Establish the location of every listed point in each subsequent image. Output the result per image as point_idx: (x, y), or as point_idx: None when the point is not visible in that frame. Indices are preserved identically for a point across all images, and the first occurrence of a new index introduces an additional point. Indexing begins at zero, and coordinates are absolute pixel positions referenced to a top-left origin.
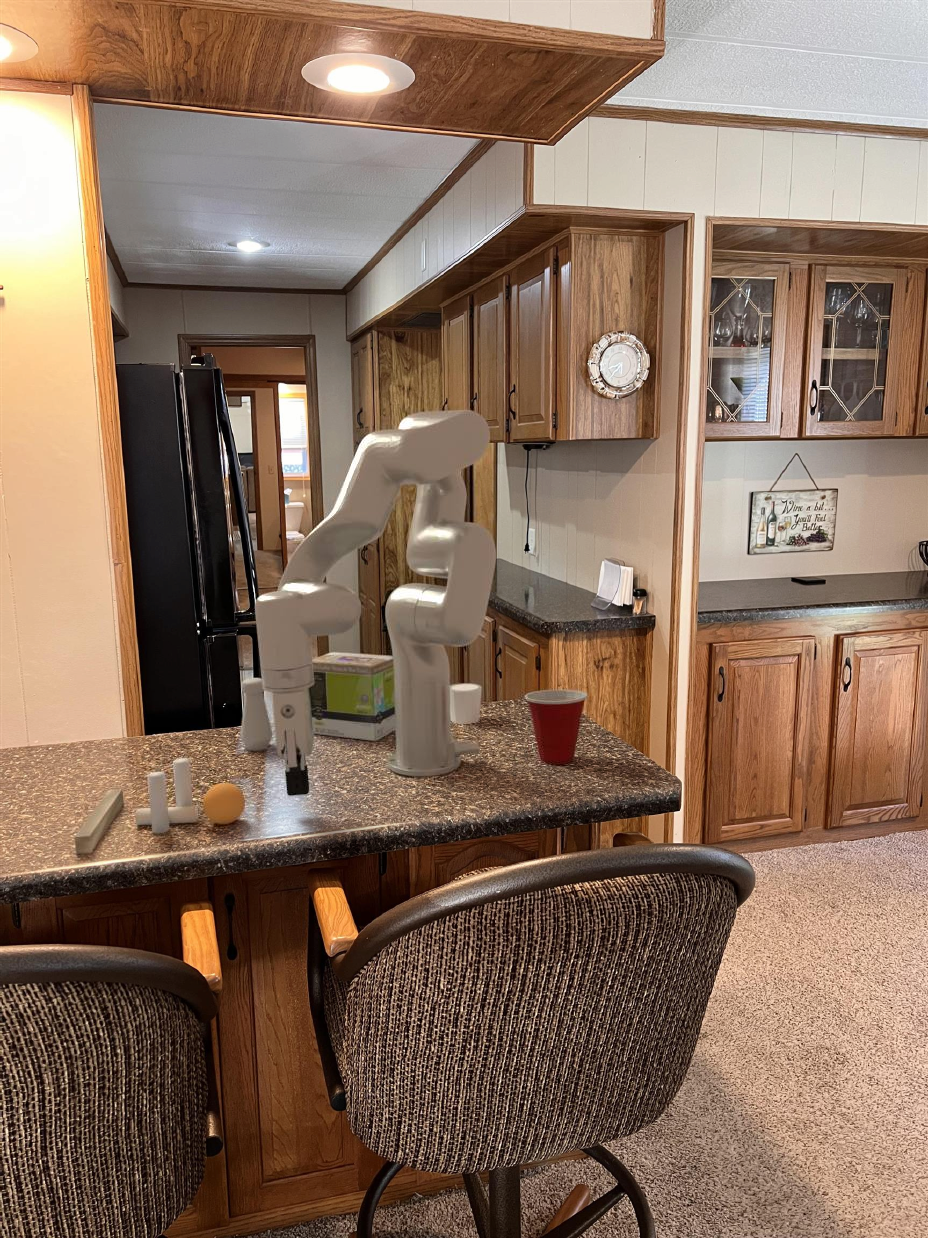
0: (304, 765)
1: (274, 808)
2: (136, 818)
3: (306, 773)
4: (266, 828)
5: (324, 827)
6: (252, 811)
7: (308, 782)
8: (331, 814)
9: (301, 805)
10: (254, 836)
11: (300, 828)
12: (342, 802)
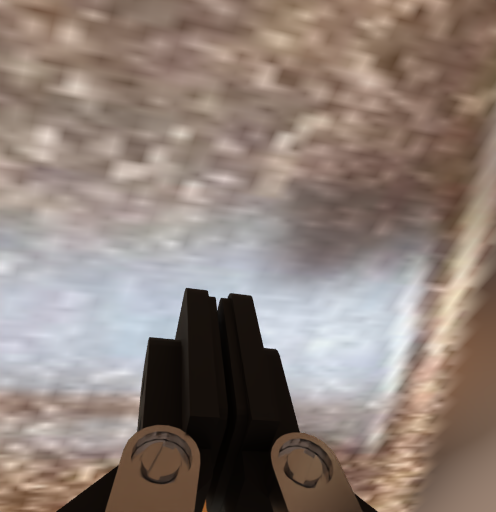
0: (276, 461)
1: (105, 359)
2: None
3: (272, 395)
4: (310, 390)
5: (419, 189)
6: (116, 428)
7: (212, 322)
8: (276, 129)
9: (98, 254)
10: (361, 422)
11: (374, 284)
12: (111, 27)
